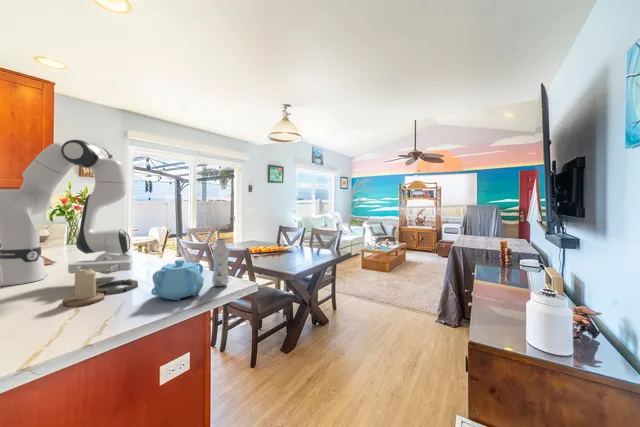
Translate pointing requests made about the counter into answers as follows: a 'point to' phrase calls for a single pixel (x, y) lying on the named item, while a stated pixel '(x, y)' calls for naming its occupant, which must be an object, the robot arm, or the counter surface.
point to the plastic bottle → (220, 263)
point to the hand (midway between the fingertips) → (94, 270)
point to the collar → (100, 286)
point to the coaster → (75, 303)
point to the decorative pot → (178, 280)
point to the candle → (85, 284)
